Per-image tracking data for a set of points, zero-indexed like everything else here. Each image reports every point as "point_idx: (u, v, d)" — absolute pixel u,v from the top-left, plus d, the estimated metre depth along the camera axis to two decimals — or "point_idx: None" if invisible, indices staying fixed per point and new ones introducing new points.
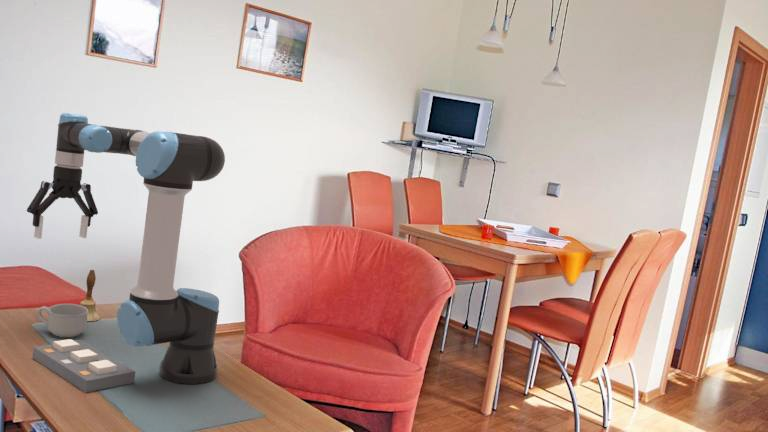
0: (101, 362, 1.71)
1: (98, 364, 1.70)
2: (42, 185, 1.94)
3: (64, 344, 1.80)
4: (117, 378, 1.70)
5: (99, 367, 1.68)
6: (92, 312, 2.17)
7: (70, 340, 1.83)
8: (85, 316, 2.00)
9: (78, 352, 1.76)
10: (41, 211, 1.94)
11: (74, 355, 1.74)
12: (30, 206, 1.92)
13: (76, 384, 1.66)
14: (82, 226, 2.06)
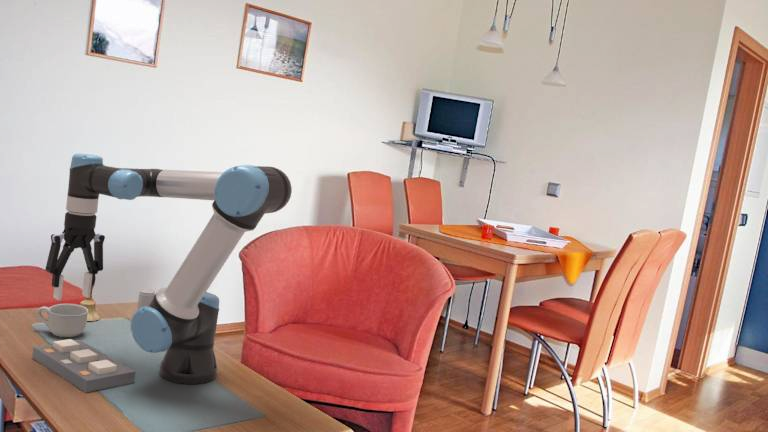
0: (101, 362, 1.71)
1: (98, 364, 1.70)
2: (53, 240, 1.73)
3: (64, 344, 1.80)
4: (117, 378, 1.70)
5: (99, 367, 1.68)
6: (92, 312, 2.17)
7: (70, 340, 1.83)
8: (85, 316, 2.00)
9: (78, 352, 1.76)
10: (60, 270, 1.75)
11: (74, 355, 1.74)
12: (48, 265, 1.74)
13: (76, 384, 1.66)
14: (85, 284, 1.83)
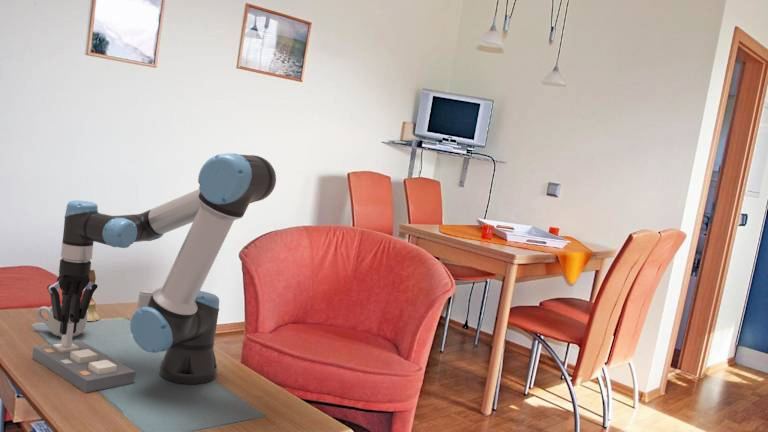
0: (101, 362, 1.71)
1: (98, 364, 1.70)
2: (50, 291, 1.75)
3: (64, 348, 1.80)
4: (117, 378, 1.70)
5: (99, 367, 1.68)
6: (92, 312, 2.17)
7: None
8: (85, 316, 2.00)
9: (78, 352, 1.76)
10: (67, 317, 1.79)
11: (74, 355, 1.74)
12: (54, 315, 1.78)
13: (76, 384, 1.66)
14: None
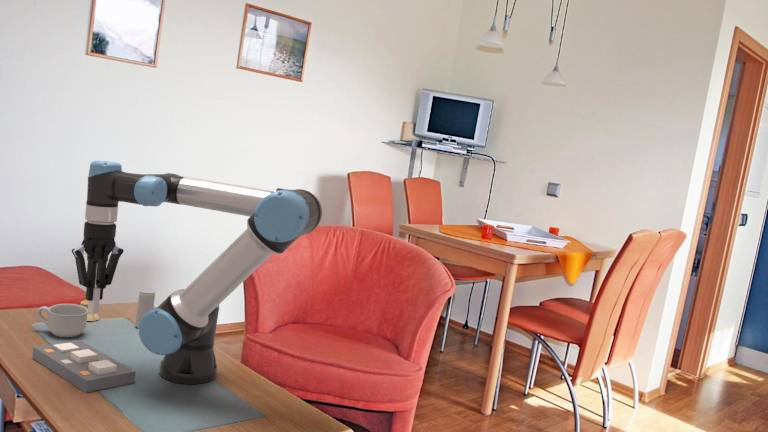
0: (101, 362, 1.71)
1: (98, 364, 1.70)
2: (75, 255, 1.68)
3: (64, 348, 1.80)
4: (117, 378, 1.70)
5: (99, 367, 1.68)
6: None
7: (70, 343, 1.84)
8: (85, 316, 2.00)
9: (78, 352, 1.76)
10: (93, 282, 1.72)
11: (74, 355, 1.74)
12: (80, 280, 1.71)
13: (76, 384, 1.66)
14: None
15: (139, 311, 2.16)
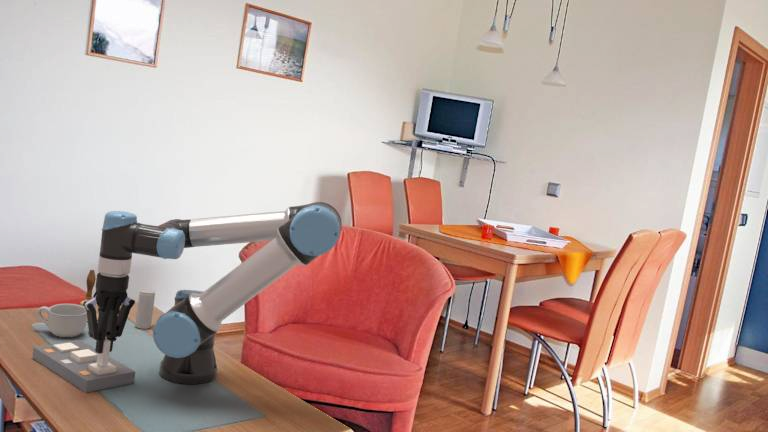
0: None
1: (98, 366, 1.70)
2: (86, 308, 1.65)
3: (64, 348, 1.80)
4: (117, 378, 1.70)
5: (99, 369, 1.68)
6: None
7: (70, 343, 1.84)
8: (85, 316, 2.00)
9: (78, 352, 1.76)
10: (103, 335, 1.68)
11: (74, 355, 1.74)
12: (90, 332, 1.67)
13: (76, 384, 1.66)
14: None
15: (139, 311, 2.16)
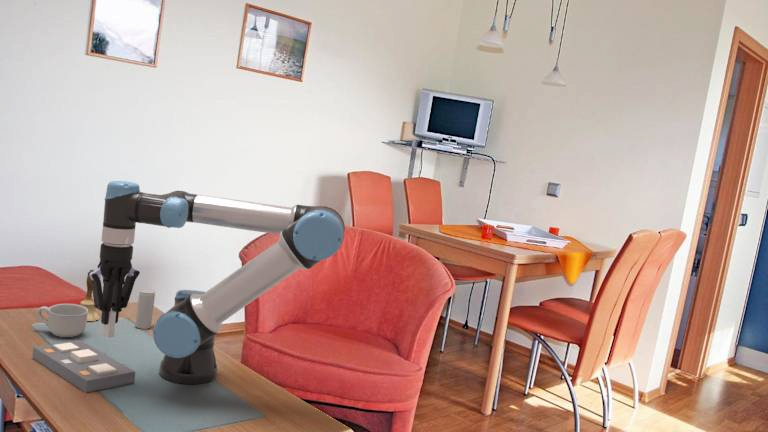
0: (101, 366, 1.72)
1: (97, 368, 1.70)
2: (91, 278, 1.64)
3: (64, 348, 1.80)
4: (117, 378, 1.70)
5: (99, 371, 1.68)
6: (92, 312, 2.17)
7: (70, 343, 1.84)
8: (85, 316, 2.00)
9: (78, 352, 1.76)
10: (109, 306, 1.67)
11: (74, 355, 1.74)
12: (95, 303, 1.66)
13: (76, 384, 1.66)
14: None
15: (139, 311, 2.16)
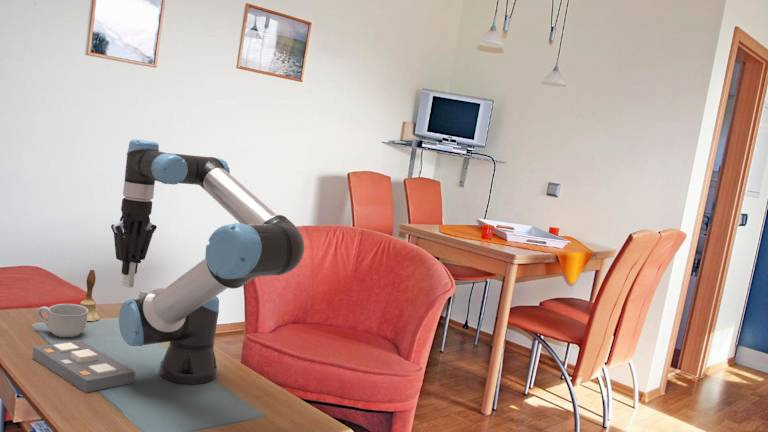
0: (101, 366, 1.72)
1: (97, 368, 1.70)
2: (114, 230, 1.74)
3: (64, 348, 1.80)
4: (117, 378, 1.70)
5: (99, 371, 1.68)
6: (92, 312, 2.17)
7: (70, 343, 1.84)
8: (85, 316, 2.00)
9: (78, 352, 1.76)
10: (129, 257, 1.78)
11: (74, 355, 1.74)
12: (117, 254, 1.76)
13: (76, 384, 1.66)
14: None
15: None
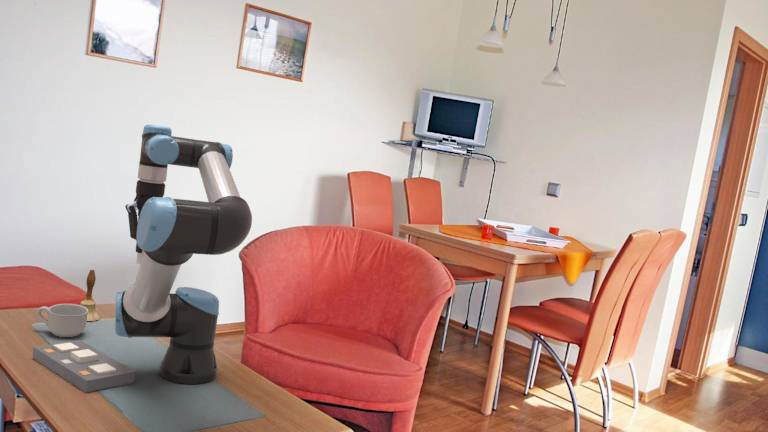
0: (101, 366, 1.72)
1: (97, 368, 1.70)
2: (128, 210, 1.84)
3: (64, 348, 1.80)
4: (117, 378, 1.70)
5: (99, 371, 1.68)
6: (92, 312, 2.17)
7: (70, 343, 1.84)
8: (85, 316, 2.00)
9: (78, 352, 1.76)
10: None
11: (74, 355, 1.74)
12: (131, 233, 1.86)
13: (76, 384, 1.66)
14: None
15: None
